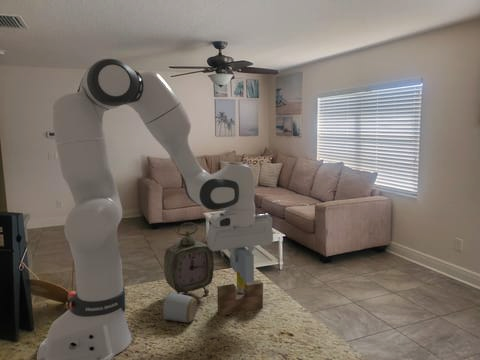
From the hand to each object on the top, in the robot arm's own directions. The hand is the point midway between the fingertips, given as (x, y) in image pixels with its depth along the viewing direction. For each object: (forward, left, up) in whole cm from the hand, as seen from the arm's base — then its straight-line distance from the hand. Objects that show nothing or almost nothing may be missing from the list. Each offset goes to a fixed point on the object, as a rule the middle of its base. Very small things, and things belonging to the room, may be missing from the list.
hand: (241, 260), depth 116 cm
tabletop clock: (-13, +15, -16) cm, 25 cm away
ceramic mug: (-18, +1, -16) cm, 24 cm away
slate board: (0, 0, -4) cm, 4 cm away
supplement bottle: (+6, +12, -16) cm, 21 cm away
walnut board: (0, 0, -16) cm, 16 cm away
